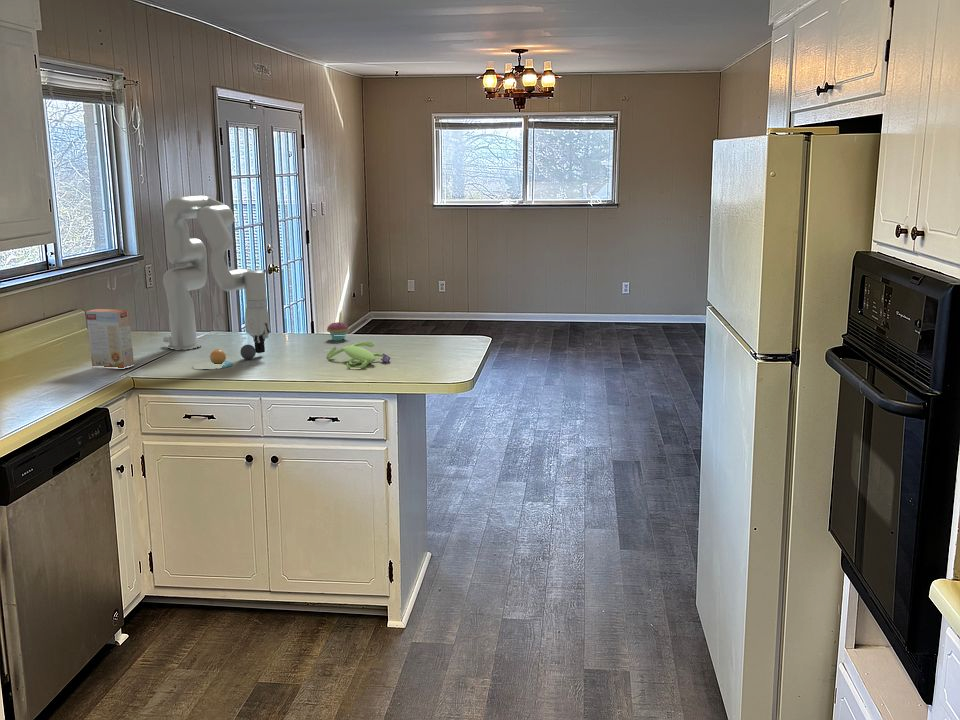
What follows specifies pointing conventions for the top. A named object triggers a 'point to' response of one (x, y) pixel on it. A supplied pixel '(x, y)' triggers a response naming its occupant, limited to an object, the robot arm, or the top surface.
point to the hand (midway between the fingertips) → (260, 352)
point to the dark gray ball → (248, 351)
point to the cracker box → (110, 338)
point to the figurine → (359, 354)
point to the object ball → (217, 356)
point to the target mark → (227, 364)
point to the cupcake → (337, 329)
